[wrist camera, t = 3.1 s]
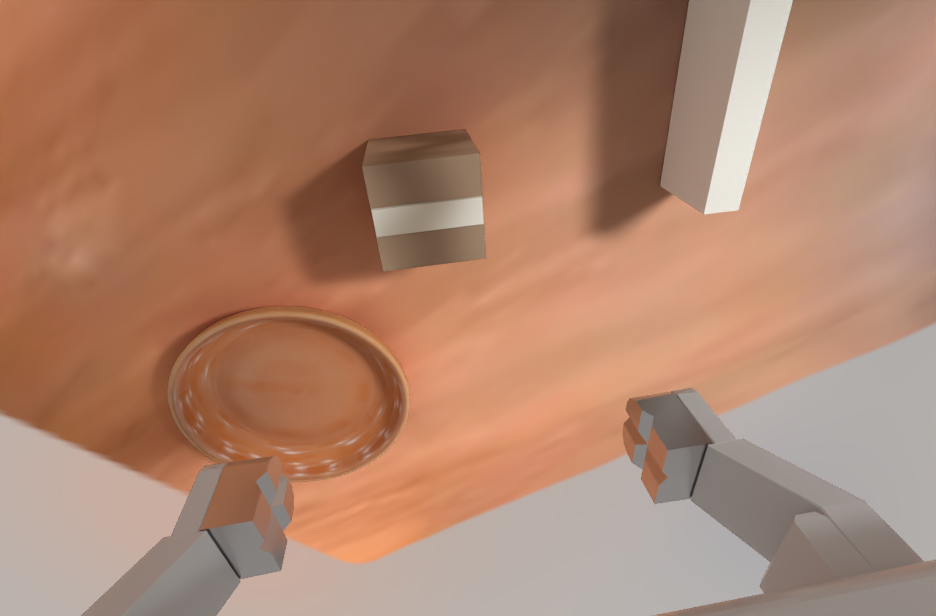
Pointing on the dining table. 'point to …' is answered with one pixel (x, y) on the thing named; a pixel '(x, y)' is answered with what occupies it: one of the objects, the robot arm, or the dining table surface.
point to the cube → (425, 199)
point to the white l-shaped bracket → (721, 98)
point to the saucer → (290, 392)
